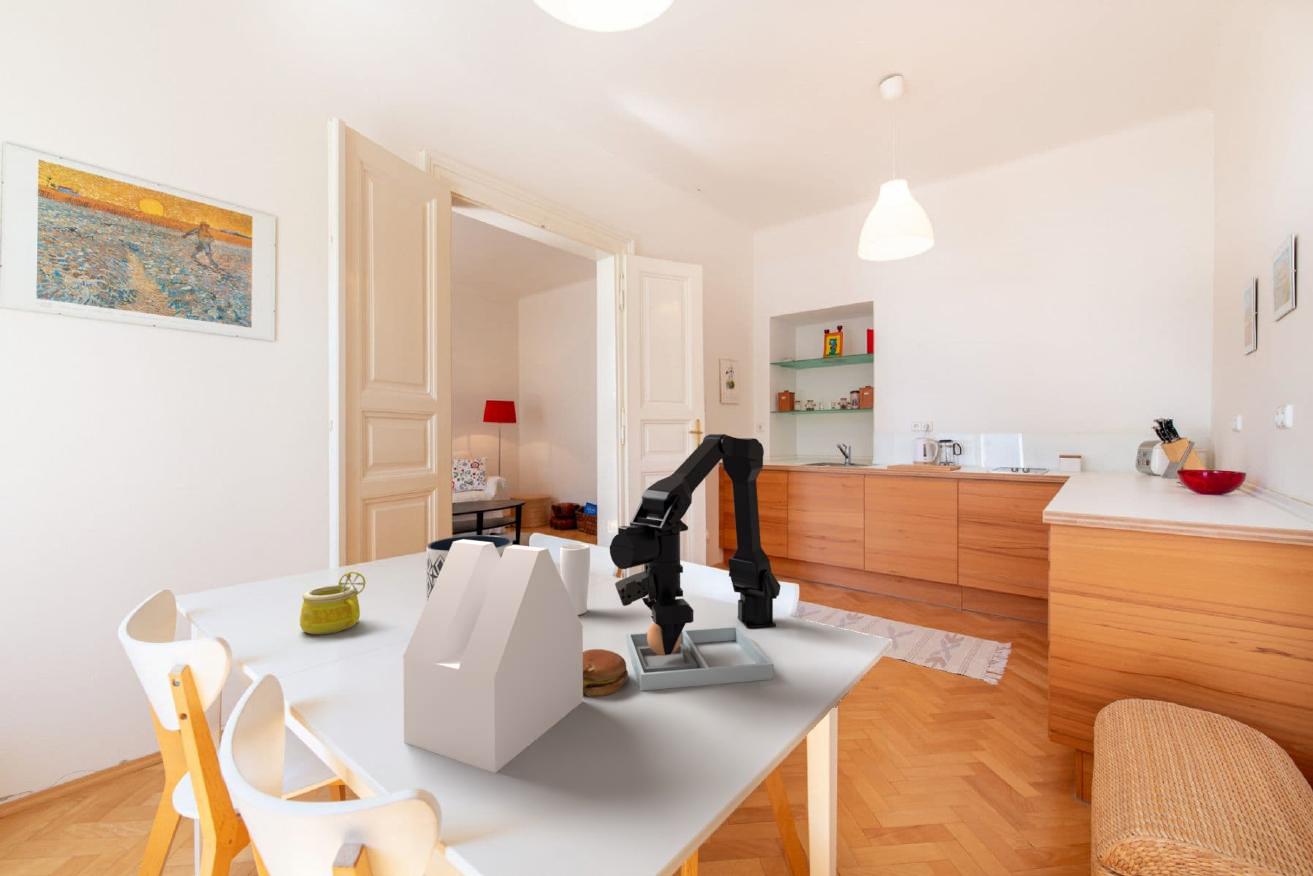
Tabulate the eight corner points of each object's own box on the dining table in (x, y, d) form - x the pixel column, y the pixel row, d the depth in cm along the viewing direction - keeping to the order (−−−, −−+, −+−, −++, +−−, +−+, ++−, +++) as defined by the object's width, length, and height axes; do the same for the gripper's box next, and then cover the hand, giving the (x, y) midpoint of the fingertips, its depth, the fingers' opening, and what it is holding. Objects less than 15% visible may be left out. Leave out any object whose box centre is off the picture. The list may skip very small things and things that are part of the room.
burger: (623, 669, 94) (622, 642, 94) (631, 694, 85) (631, 665, 85) (565, 674, 92) (564, 647, 92) (567, 701, 83) (567, 670, 83)
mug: (286, 633, 111) (286, 575, 111) (336, 616, 121) (335, 563, 121) (330, 642, 106) (330, 581, 106) (378, 624, 116) (378, 568, 116)
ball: (677, 646, 99) (677, 613, 99) (684, 659, 93) (684, 624, 93) (644, 649, 98) (644, 615, 98) (650, 662, 92) (650, 627, 92)
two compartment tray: (737, 638, 107) (737, 626, 107) (772, 679, 90) (772, 664, 90) (626, 646, 103) (626, 633, 103) (640, 690, 86) (640, 674, 86)
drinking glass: (593, 608, 126) (592, 543, 126) (586, 617, 120) (586, 550, 120) (564, 607, 127) (564, 543, 127) (556, 617, 120) (556, 549, 120)
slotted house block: (494, 774, 65) (493, 565, 65) (403, 743, 71) (402, 553, 71) (582, 702, 82) (582, 537, 82) (503, 682, 89) (502, 530, 89)
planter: (529, 611, 124) (529, 540, 124) (463, 637, 109) (463, 555, 109) (477, 599, 134) (476, 532, 134) (409, 620, 118) (408, 545, 118)
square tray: (684, 651, 101) (684, 643, 101) (697, 673, 92) (697, 665, 92) (633, 655, 99) (633, 647, 99) (641, 678, 90) (641, 669, 90)
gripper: (612, 549, 103) (613, 631, 103) (624, 574, 85) (625, 674, 85) (670, 547, 105) (670, 627, 105) (694, 571, 87) (694, 668, 87)
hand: (664, 647), depth 95 cm, fingers closed on ball, 6 cm apart
